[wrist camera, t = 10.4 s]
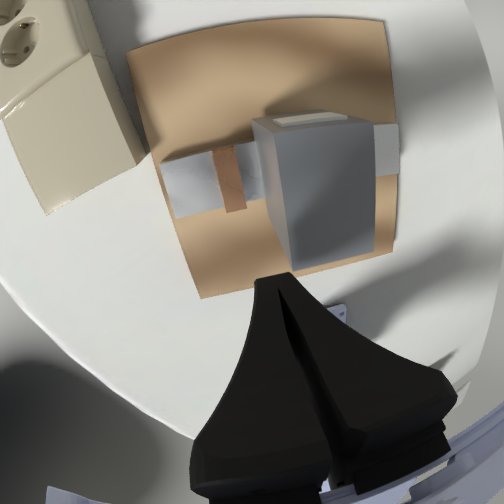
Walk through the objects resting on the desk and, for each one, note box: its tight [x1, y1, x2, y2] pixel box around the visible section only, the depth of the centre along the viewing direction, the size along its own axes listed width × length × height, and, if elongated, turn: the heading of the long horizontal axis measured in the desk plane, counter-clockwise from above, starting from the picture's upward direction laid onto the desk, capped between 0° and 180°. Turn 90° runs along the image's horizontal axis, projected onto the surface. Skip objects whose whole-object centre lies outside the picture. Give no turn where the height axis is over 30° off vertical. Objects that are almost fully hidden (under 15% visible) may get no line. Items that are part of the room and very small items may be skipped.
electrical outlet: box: [0, 0, 147, 216], centre depth 10 cm, size 7×4×18 cm
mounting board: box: [126, 18, 397, 299], centre depth 17 cm, size 18×16×1 cm
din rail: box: [159, 121, 399, 219], centre depth 16 cm, size 4×15×2 cm, turn 100°
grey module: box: [251, 109, 376, 272], centre depth 13 cm, size 6×4×6 cm, turn 10°
